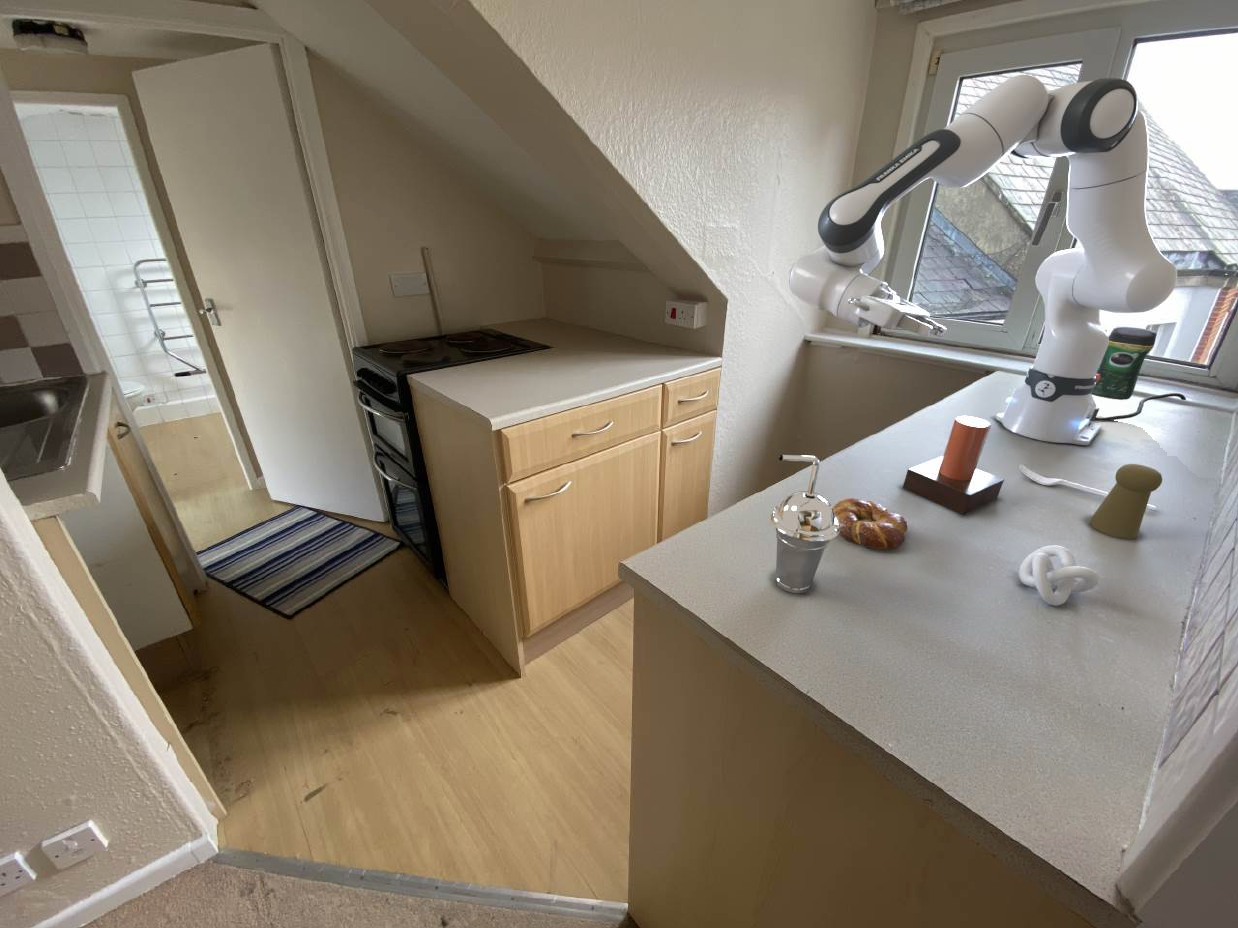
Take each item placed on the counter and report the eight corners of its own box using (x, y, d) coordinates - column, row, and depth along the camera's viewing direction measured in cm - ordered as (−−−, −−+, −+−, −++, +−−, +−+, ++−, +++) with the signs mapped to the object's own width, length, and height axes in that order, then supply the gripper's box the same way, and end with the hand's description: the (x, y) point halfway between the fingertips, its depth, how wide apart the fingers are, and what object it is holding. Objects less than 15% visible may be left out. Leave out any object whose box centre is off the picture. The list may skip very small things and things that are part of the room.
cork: (1146, 540, 83) (1181, 479, 78) (1102, 536, 84) (1133, 474, 79) (1122, 520, 88) (1152, 461, 83) (1081, 516, 89) (1108, 457, 84)
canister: (948, 465, 97) (965, 414, 92) (978, 476, 93) (997, 423, 88) (932, 471, 94) (949, 419, 90) (962, 483, 90) (980, 429, 86)
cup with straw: (830, 607, 68) (864, 469, 59) (758, 598, 69) (781, 462, 60) (820, 567, 75) (848, 439, 67) (755, 560, 77) (775, 433, 68)
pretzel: (811, 519, 87) (815, 499, 85) (861, 506, 91) (865, 487, 89) (868, 560, 77) (873, 538, 76) (921, 543, 81) (927, 523, 79)
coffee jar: (1131, 396, 146) (1162, 328, 137) (1127, 403, 141) (1160, 333, 132) (1086, 388, 152) (1114, 323, 144) (1082, 394, 147) (1110, 327, 139)
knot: (1067, 621, 66) (1086, 584, 64) (998, 586, 72) (1013, 551, 70) (1092, 600, 70) (1111, 564, 67) (1025, 568, 76) (1040, 534, 73)
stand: (936, 474, 102) (942, 455, 100) (997, 499, 94) (1004, 479, 92) (902, 488, 97) (907, 468, 95) (963, 515, 89) (970, 495, 87)
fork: (1155, 515, 89) (1160, 505, 89) (1015, 477, 101) (1018, 468, 101) (1155, 508, 92) (1160, 498, 91) (1017, 471, 104) (1021, 463, 103)
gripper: (853, 281, 91) (931, 312, 84) (891, 290, 106) (960, 317, 98) (835, 316, 94) (908, 349, 87) (875, 320, 109) (940, 348, 101)
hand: (936, 332), depth 93 cm, fingers open, 8 cm apart
